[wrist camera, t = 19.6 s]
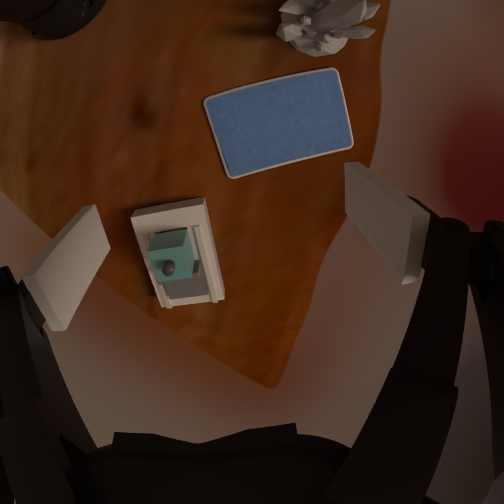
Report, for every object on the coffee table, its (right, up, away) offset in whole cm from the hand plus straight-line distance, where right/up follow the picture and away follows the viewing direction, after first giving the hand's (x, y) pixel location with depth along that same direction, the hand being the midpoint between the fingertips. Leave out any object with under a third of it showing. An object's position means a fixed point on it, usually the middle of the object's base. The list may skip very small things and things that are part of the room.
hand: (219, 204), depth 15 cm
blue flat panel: (+6, +16, +25) cm, 31 cm away
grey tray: (-10, -2, +34) cm, 35 cm away
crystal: (+10, +29, +18) cm, 35 cm away
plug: (-10, 0, +32) cm, 33 cm away
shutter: (-9, -7, +33) cm, 35 cm away
